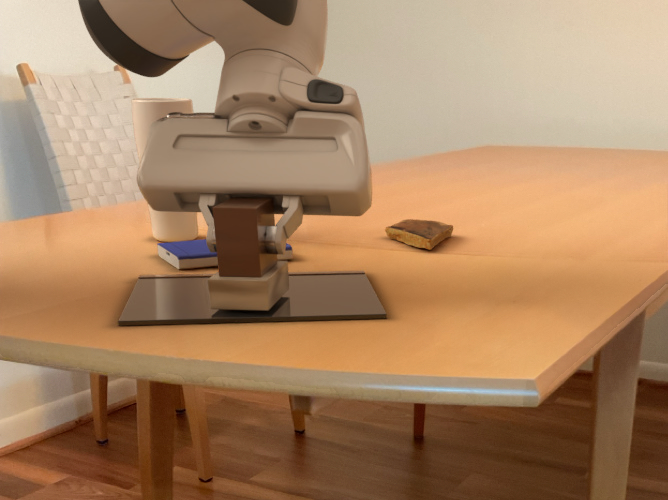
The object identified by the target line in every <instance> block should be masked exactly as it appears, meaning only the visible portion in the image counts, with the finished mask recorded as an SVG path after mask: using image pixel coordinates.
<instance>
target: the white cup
mask: <svg viewBox="0 0 668 500" xmlns="http://www.w3.org/2000/svg"><path fill="white" fill-rule="evenodd" d="M130 103H131V117H132V127H133V135H134V141H135V146H136V152H137V158H138V161H139V164H140V161H141V158H142V155H143V152H144V150H145V147H146V145H147V137H148V132H149V128H150V126H151V124H152V123H153V122H155V121H157V120H159V119H161V118H163V117H167V114H168V113H172V112H181V113H195V111H194V106H193V105H194V104H193V100H192V98H185V97H184V98H183V97H135V98H132V99H131V100H130ZM147 208H148V214H149V219H150V227H151V228H150V229H151V235H152V238H154V239H155V240H156V241H157V242H161V243H168V242H179V241H190V240H197V238H198V237H199V223H198V212H167V211H155V210H153V209H152V208H151V206H150V205H149V204H148V203H147Z"/></svg>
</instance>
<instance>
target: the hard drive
mask: <svg viewBox="0 0 668 500" xmlns="http://www.w3.org/2000/svg"><path fill="white" fill-rule="evenodd" d="M156 247H157V255H158V257H159V258H160V259H162V260H163V261H165V262H167V263H168V264H169V265H171V266H173V267H174V268H175V269H177V270H186V269H200V268H211V267H218V259H217V252H210V251H209V248H208V246H207V243H206V238H203V239H194V240H190V241H179V242H158V243H157V245H156ZM293 256H294V255H293V246H292V245H291V244H290V243H287V242H286V249H285V254H284V255H282V254H277V261H289V260H293V258H294V257H293Z"/></svg>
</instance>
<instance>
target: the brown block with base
mask: <svg viewBox="0 0 668 500" xmlns="http://www.w3.org/2000/svg"><path fill="white" fill-rule="evenodd" d="M213 218H214V229H215V239H216V249H217V259H218V266H217V269H218V270H217V272H215V273H213V274H214V275H213V276H212V277H210V278H209V279H208V289H209V299H210V308H211V309H221V310H261V311H268V310H269V309H270V308H271V307H272V306H273V305H274V304H275V303H276V302H277V301H278V300H279V299H280V298H281V297H282V296H283V295H284V294H285V293H286V292H287V291H288V290H289V273H288V272H289V260H277V254H267V249H266V248H265V245H264V239H265V236H266V234H265V231H266V226H275V225H276V222H275V221H276V219H275V214H274V203H273V198H272V197H232V198H230V199H228V200H226V201H224V202H222V203H221V204H219V205H217V206H215V207H213Z"/></svg>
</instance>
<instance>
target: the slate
mask: <svg viewBox="0 0 668 500" xmlns="http://www.w3.org/2000/svg"><path fill="white" fill-rule="evenodd" d="M288 273H289V290H288V291H287V292H286V293H285V294H284V295H283V296H282V297H281V298H280V299H279V300H278V301H277V302H276V303H275V304H274V305H273V306H272V307H271V308H270V309H269V310H268V311H261V310H221V309H211V308H210V299H209V289H208V279H209V278H210V277H212V276H213V275H214V274H215V273H178V274H177V273H176V274H175V273H173V274H139V275H138V278H137V281H136V283H135V285H134V287H133V288H132V291H131V293H130V295H129V297H128V299H127V301H126V303H125V306H124V308H123V310H122V312H121V313H120V316H119V318H118V319H117V324H118V325H117V326H119V327H123V326H127V327H129V326H159V325H161V326H163V325H165V326H166V325H197V324H230V323H231V324H232V323H233V324H234V323H235V324H236V323H269V322H271V323H272V322H303V321H305V322H306V321H342V320H376V319H377V320H378V319H380V320H382V319H387V318H388V316H387V312H386V310H385V308H384V306H383V305H382V303H381V301H380V299H379V296H378V295H377V293H376V290H375V289H374V287H373V285H372V283H371V282H370V280H369V278H368V276H367V274H366V272H365V270H328V271H327V270H325V271H324V270H323V271H288Z"/></svg>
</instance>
